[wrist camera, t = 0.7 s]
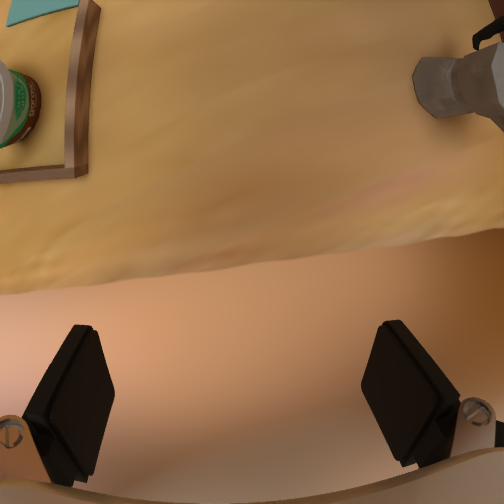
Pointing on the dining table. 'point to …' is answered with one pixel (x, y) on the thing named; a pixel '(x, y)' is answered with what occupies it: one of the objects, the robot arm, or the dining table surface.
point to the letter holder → (498, 11)
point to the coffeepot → (465, 80)
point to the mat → (36, 9)
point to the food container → (17, 105)
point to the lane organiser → (71, 104)
